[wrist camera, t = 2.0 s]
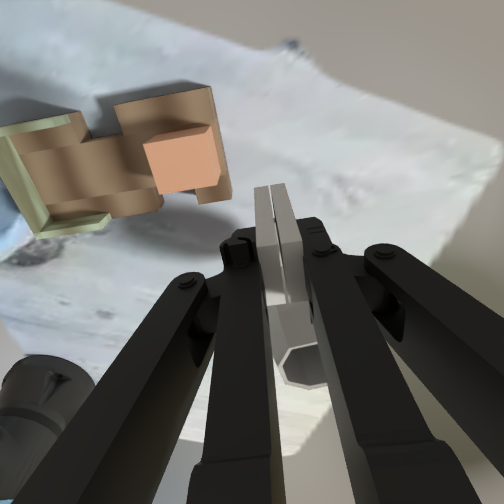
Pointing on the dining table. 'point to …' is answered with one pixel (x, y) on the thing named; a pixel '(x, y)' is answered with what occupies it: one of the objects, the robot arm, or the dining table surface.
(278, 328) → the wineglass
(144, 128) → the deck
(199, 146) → the block
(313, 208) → the dining table surface
